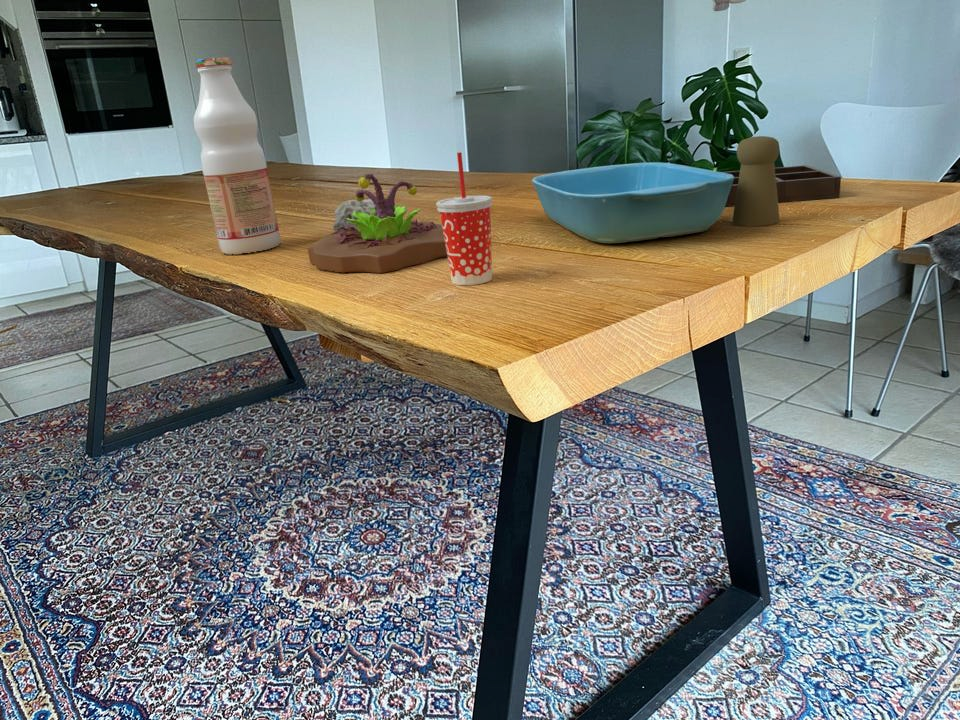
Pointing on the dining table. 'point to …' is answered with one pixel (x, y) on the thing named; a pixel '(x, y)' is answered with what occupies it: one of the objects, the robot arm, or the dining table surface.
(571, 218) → the casserole dish
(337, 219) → the decorative stone
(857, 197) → the dining table surface
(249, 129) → the fruit juice
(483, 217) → the beverage cup
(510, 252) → the dining table surface
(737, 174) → the compartment tray
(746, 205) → the cork
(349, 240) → the plant
